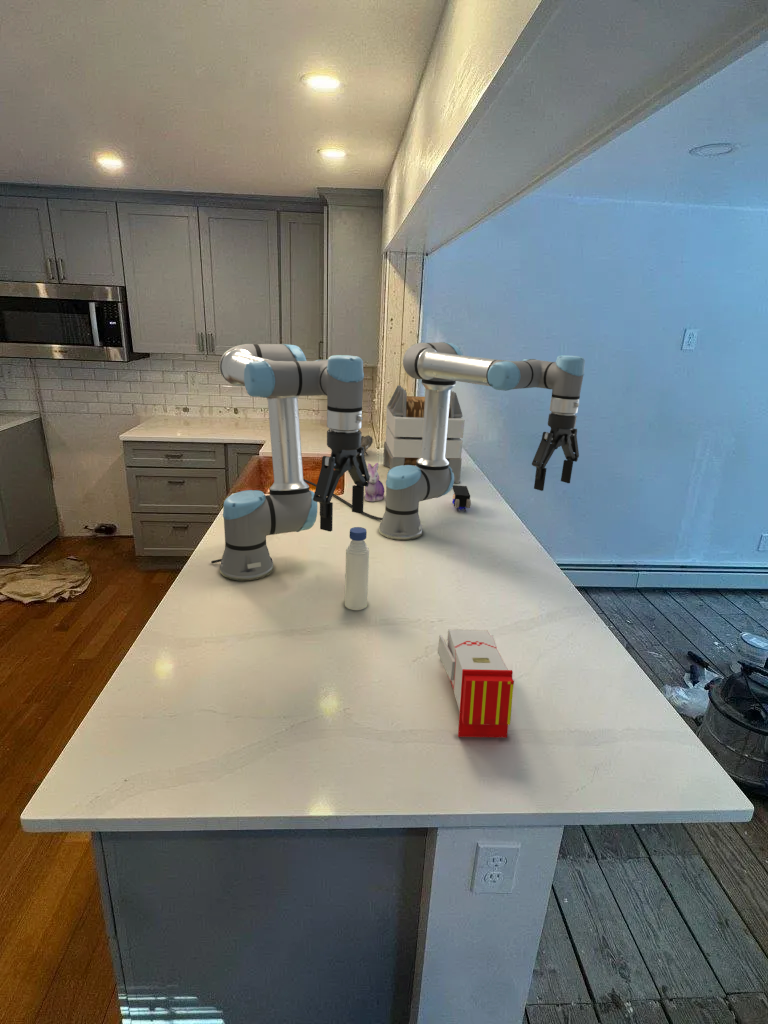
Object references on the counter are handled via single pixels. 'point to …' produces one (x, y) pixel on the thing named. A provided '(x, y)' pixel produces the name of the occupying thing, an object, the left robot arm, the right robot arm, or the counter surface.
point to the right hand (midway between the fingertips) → (552, 485)
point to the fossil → (366, 442)
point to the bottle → (356, 575)
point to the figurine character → (461, 497)
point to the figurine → (374, 485)
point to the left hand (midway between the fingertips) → (342, 520)
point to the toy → (478, 682)
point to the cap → (358, 533)
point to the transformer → (419, 431)
